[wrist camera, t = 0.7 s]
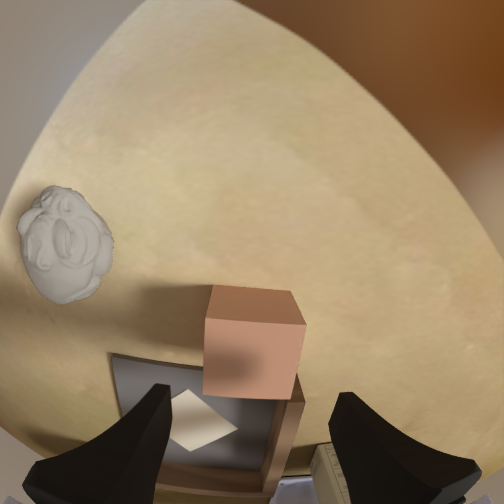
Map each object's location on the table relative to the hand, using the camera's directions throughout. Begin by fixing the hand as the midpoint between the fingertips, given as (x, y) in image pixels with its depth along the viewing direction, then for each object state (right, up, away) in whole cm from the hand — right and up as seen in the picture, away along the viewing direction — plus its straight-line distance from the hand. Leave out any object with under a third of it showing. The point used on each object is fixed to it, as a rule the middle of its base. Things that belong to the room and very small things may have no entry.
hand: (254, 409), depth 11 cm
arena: (-4, -9, +10) cm, 14 cm away
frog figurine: (-11, +8, +7) cm, 15 cm away
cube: (0, +2, +8) cm, 9 cm away
